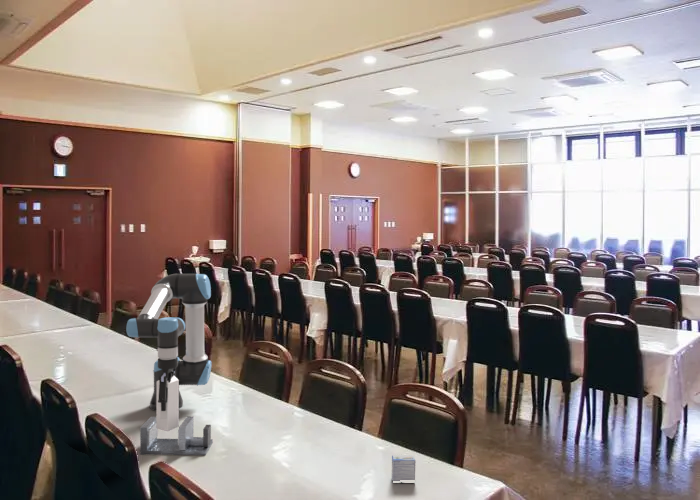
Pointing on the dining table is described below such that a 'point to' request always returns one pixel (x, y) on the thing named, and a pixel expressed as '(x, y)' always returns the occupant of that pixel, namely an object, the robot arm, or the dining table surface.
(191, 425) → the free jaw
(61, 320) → the dining table surface
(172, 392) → the milk
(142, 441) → the vise base
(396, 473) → the medicine box
